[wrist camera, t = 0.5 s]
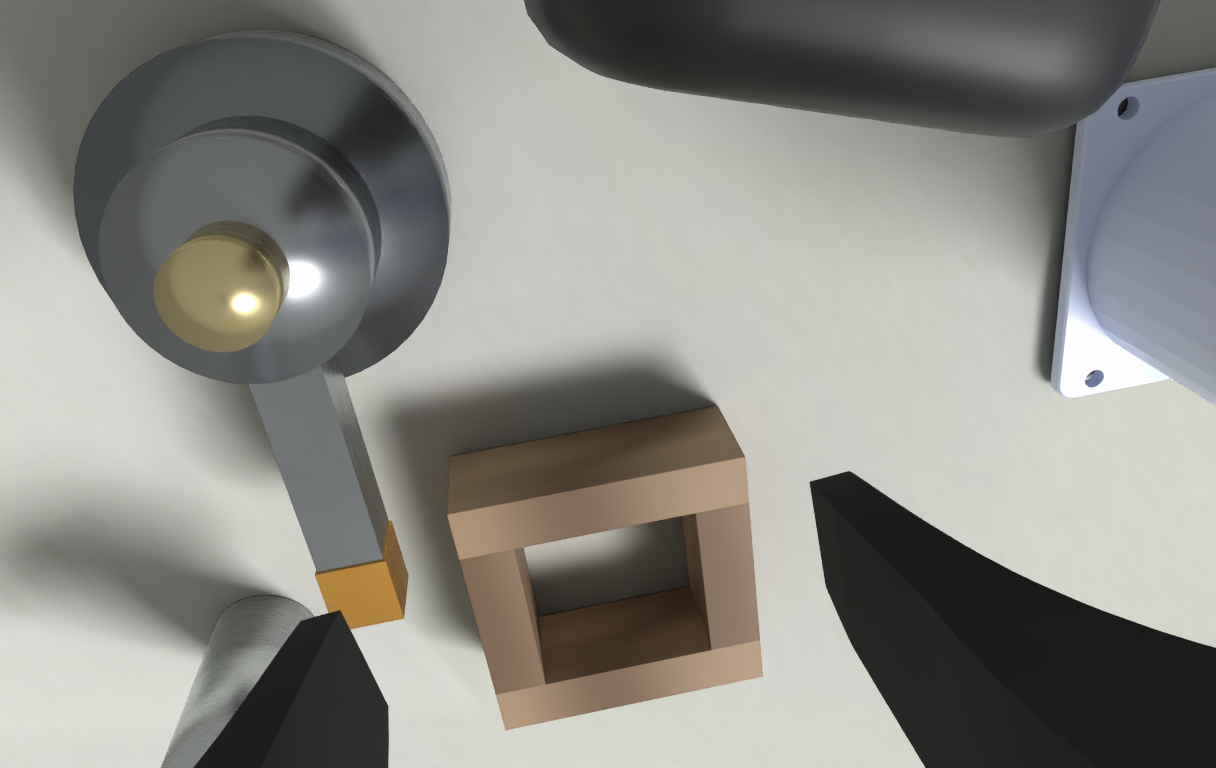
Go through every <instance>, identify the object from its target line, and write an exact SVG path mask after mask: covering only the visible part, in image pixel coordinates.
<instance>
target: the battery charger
mask: <svg viewBox="0 0 1216 768" xmlns="http://www.w3.org/2000/svg"><path fill="white" fill-rule="evenodd" d="M524 2H525V6H526V10H527V14H528V16H529V17H530V18H531V20H532V21H533V23H534V24H535V25H536V27H537V28H538V30H539V31H540V32H541V34H542V35H543V37H544V38H545V40H546V41H547V42H548V44H549V45H550V46H552V47H553V48H555V49H556V50H558V51H559V52H561V53H562V54H564V55H565V56H567V57H569V58H570V59H572V60H573V61H575V62H576V63H578V64H579V65H581V66H583V67H584V68H586V69H588V70H590V71H592V72H594V73H596V74H599V75H601V76H604V77H608V78H611V79H615V80H619V81H623V82H627V83H631V84H635V85H640V86H645V87H649V88H654V89H659V90H665V91H672V92H679V93H686V94H693V95H700V96H707V97H715V98H722V99H729V100H736V101H743V102H751V103H759V104H767V105H773V106H779V107H785V108H792V109H799V110H806V111H813V112H820V113H827V114H834V115H841V116H849V117H856V118H865V119H873V120H879V121H885V122H891V123H898V124H906V125H913V126H920V127H927V128H934V129H941V130H948V131H955V132H962V133H972V134H981V135H991V136H1001V137H1018V138H1027V137H1032V136H1037V135H1041V134H1046V133H1051V132H1055V131H1060V130H1065V129H1066V128H1068V127H1070V126H1072V125H1074V124H1075V123H1077V122H1079V121H1081V120H1083V119H1084V118H1086V117H1088V116H1090V115H1092V114H1093V113H1095V112H1097V111H1098V110H1099V109H1100V108H1101V107H1102V106H1103V105H1104V104H1105V103H1106V101H1107V100H1108V99H1109V98H1110V97H1111V96H1112V95H1113V94H1114V93H1115V92H1116V91H1117V90H1118V89H1119V88H1120V87H1121V85H1122V84H1123V83H1124V81H1125V79H1126V77H1127V76H1128V74H1129V72H1130V70H1131V68H1132V66H1133V64H1134V62H1135V60H1136V58H1137V56H1138V54H1139V52H1140V50H1141V48H1142V46H1143V44H1144V42H1145V40H1146V37H1147V34H1148V32H1149V29H1150V26H1151V24H1152V21H1153V19H1154V16H1155V13H1156V11H1157V8H1158V5H1159V3H1160V0H524Z"/></svg>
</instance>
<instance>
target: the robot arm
mask: <svg viewBox="0 0 1216 768" xmlns="http://www.w3.org/2000/svg"><path fill="white" fill-rule="evenodd" d="M1125 98H1128V106H1127V109H1126V111H1125V112H1124V113H1123V114H1122V115H1120V116H1118V111H1117V110H1118V107H1119V105H1120V103H1121V102H1122V101H1123V100H1124V99H1125ZM1094 370H1095V371H1094ZM1091 371H1094V374H1093V376H1092V377H1091V378H1090V379H1088V380H1086V381H1085V379H1086V376H1087V375H1088V374H1089V373H1090V372H1091ZM1168 379H1173V380H1174V381H1176V382H1178V383H1179V384H1181V385H1182V386H1184V387H1186V388H1187V389H1189V390H1191V391H1192V392H1194V393H1195V394H1197V395H1199V396H1200V397H1202V398H1204V399H1205V400H1207V401H1208V402H1210V403H1212V404H1213V405H1215V406H1216V67H1215V68H1209V69H1204V70H1198V71H1192V72H1186V73H1181V74H1175V75H1169V76H1163V77H1158V78H1152V79H1146V80H1140V81H1135V82H1129V83H1123V84H1122V85H1121V87H1120V88H1119V89H1118V90H1117V91H1116V92H1115V93H1114V94H1113V95H1112V96H1111V97H1110V98H1109V99H1108V100H1107V101H1106V103H1105V104H1104V105H1103V106H1102V107H1101V108H1100V109H1099V110H1098V111H1097V112H1095V113H1093V114H1092V115H1090V116H1088V117H1086V118H1084V119H1083V120H1081V121H1079V122H1077V125H1076V135H1075V145H1074V155H1073V165H1072V175H1071V185H1070V195H1069V205H1068V215H1067V224H1066V234H1065V244H1064V254H1063V264H1062V274H1061V284H1060V294H1059V304H1058V314H1057V323H1056V333H1055V343H1054V353H1053V363H1052V373H1051V386H1052V387H1053V389H1054V390H1055V391H1056V392H1057V393H1059V394H1060V395H1061V396H1063V397H1066V398H1076V397H1081V396H1086V395H1091V394H1096V393H1101V392H1106V391H1112V390H1117V389H1122V388H1127V387H1132V386H1137V385H1142V384H1148V383H1153V382H1158V381H1163V380H1168ZM810 488H811V494H812V501H813V507H814V513H815V520H816V526H817V533H818V539H819V546H820V552H821V558H822V565H823V571H824V578H825V584H826V588H827V590H828V593H829V595H830V597H831V599H832V602H833V604H834V606H835V609H836V611H837V613H838V615H839V618H840V620H841V622H842V624H843V627H844V629H845V631H846V633H847V635H848V638H849V640H850V642H851V644H852V646H853V648H854V649H855V651H856V653H857V654H858V656H859V658H860V660H861V661H862V663H863V665H864V666H865V668H866V670H867V671H868V673H869V675H870V676H871V678H872V680H873V681H874V683H875V685H876V686H877V688H878V690H879V691H880V693H881V695H882V696H883V698H884V700H885V701H886V703H887V705H888V706H889V708H890V710H891V711H892V713H893V715H894V716H895V718H896V720H897V721H898V723H899V725H900V726H901V728H902V730H903V731H904V733H905V734H906V736H907V738H908V739H909V741H910V743H911V744H912V746H913V748H914V749H915V751H916V753H917V754H918V756H919V758H920V759H921V761H922V763H923V764H924V766H925V768H1216V648H1214V647H1211V646H1207V645H1204V644H1200V643H1196V642H1193V641H1190V640H1187V639H1184V638H1180V637H1177V636H1174V635H1171V634H1167V633H1164V632H1161V631H1158V630H1155V629H1152V628H1149V627H1147V626H1144V625H1141V624H1138V623H1135V622H1133V621H1130V620H1127V619H1124V618H1121V617H1118V616H1116V615H1113V614H1110V613H1107V612H1105V611H1102V610H1100V609H1097V608H1094V607H1092V606H1089V605H1087V604H1084V603H1082V602H1079V601H1077V600H1075V599H1072V598H1070V597H1068V596H1066V595H1063V594H1061V593H1059V592H1056V591H1054V590H1052V589H1050V588H1047V587H1045V586H1043V585H1040V584H1038V583H1036V582H1034V581H1032V580H1030V579H1028V578H1025V577H1023V576H1021V575H1019V574H1017V573H1015V572H1013V571H1011V570H1009V569H1007V568H1005V567H1004V566H1002V565H1000V564H998V563H996V562H994V561H992V560H990V559H988V558H986V557H985V556H983V555H981V554H979V553H977V552H976V551H974V550H972V549H970V548H969V547H967V546H965V545H963V544H962V543H960V542H958V541H957V540H955V539H953V538H952V537H950V536H949V535H947V534H945V533H944V532H942V531H940V530H939V529H937V528H935V527H934V526H932V525H930V524H929V523H927V522H926V521H924V520H922V519H921V518H919V517H918V516H916V515H915V514H913V513H912V512H910V511H909V510H907V509H906V508H904V507H903V506H901V505H899V504H898V503H896V502H895V501H893V500H892V499H891V498H889V497H888V496H886V495H885V494H883V493H882V492H880V491H879V490H877V489H876V488H874V487H873V486H871V485H870V484H868V483H867V482H866V481H864V480H863V479H861V478H860V477H858V476H857V475H855V474H853V473H852V472H850V471H848V472H844V473H840V474H837V475H833V476H829V477H826V478H822V479H818V480H815V481H811V482H810ZM388 749H389V730H388V705H387V703H386V701H385V699H384V697H383V695H382V693H381V691H380V689H379V687H378V685H377V683H376V681H375V679H374V677H373V675H372V673H371V671H370V669H369V667H368V664H367V662H366V660H365V658H364V656H363V654H362V652H361V650H360V648H359V646H358V644H357V642H356V640H355V638H354V636H353V634H352V632H351V630H350V628H349V626H348V624H347V622H346V620H345V618H344V616H343V614H342V612H341V610H338V611H335V612H331V613H327V614H324V615H320V616H316V617H313V618H309V619H305V620H302V621H300V622H299V624H298V625H297V626H296V628H295V629H294V630H293V632H292V633H291V634H290V636H289V637H288V638H287V640H286V641H285V643H284V644H283V645H282V647H281V648H280V650H279V651H278V653H277V654H276V655H275V657H274V658H273V660H272V661H271V663H270V664H269V665H268V667H267V668H266V670H265V671H264V673H263V674H262V675H261V677H260V678H259V680H258V681H257V683H256V684H255V686H254V687H253V688H252V690H251V691H250V693H249V694H248V695H247V697H246V698H245V699H244V701H243V702H242V704H241V705H240V706H239V708H238V709H237V711H236V712H235V713H234V715H233V716H232V718H231V719H230V720H229V722H228V723H227V725H226V726H225V727H224V729H223V730H222V731H221V733H220V734H219V736H218V737H217V738H216V739H215V741H214V742H213V743H212V744H211V746H210V747H209V748H208V750H207V751H206V752H205V753H204V755H203V756H202V757H201V759H200V760H199V761H198V762H197V764H196V765H195V766H194V768H388Z"/></svg>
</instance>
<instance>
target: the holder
mask: <svg viewBox="0 0 1216 768" xmlns="http://www.w3.org/2000/svg"><path fill="white" fill-rule="evenodd" d="M679 516H681V518H682V526H683V534H684V542H685V550H686V558H687V566H688V574H689V582H690V587H685V588H680V589H675V590H670V591H665V592H660V593H655V594H650V595H645V596H640V597H635V598H630V599H625V600H620V601H615V602H610V603H606V604H601V605H596V606H591V607H586V608H581V609H576V610H571V611H566V612H561V613H556V614H551V615H546V616H541V617H539V614H538V610H537V605H536V601H535V597H534V592H533V588H532V583H531V579H530V575H529V570H528V566H527V562H526V557H525V553H524V548H523V547H527V546H532V545H537V544H542V543H547V542H552V541H557V540H562V539H567V538H572V537H578V536H583V535H588V534H593V533H598V532H603V531H608V530H613V529H618V528H623V527H628V526H633V525H638V524H643V523H648V522H653V521H659V520H664V519H669V518H674V517H679ZM447 517H448V521H449V524H450V528H451V532H452V535H453V539H454V543H455V546H456V550H457V554H458V557H459V561H460V565H461V568H462V572H463V576H464V579H465V583H466V587H467V590H468V594H469V598H470V601H471V605H472V609H473V612H474V616H475V620H476V623H477V627H478V631H479V634H480V638H481V642H482V645H483V649H484V653H485V656H486V660H487V664H488V667H489V671H490V675H491V678H492V682H493V686H494V689H495V693H496V697H497V700H498V704H499V708H500V712H501V715H502V719H503V723H504V726H505V730H509V729H514V728H519V727H524V726H528V725H533V724H538V723H543V722H547V721H552V720H557V719H562V718H567V717H571V716H576V715H581V714H586V713H590V712H595V711H600V710H605V709H610V708H614V707H619V706H624V705H629V704H633V703H638V702H643V701H648V700H653V699H657V698H662V697H667V696H672V695H676V694H681V693H686V692H691V691H696V690H700V689H705V688H710V687H715V686H719V685H724V684H729V683H734V682H739V681H743V680H748V679H753V678H758V677H762V676H763V672H762V660H761V647H760V635H759V622H758V610H757V598H756V585H755V573H754V560H753V548H752V536H751V523H750V511H749V499H748V486H747V474H746V461H745V456H744V454H743V452H742V450H741V448H740V446H739V444H738V443H737V441H736V439H735V437H734V435H733V433H732V431H731V429H730V428H729V426H728V424H727V422H726V420H725V418H724V416H723V415H722V413H721V411H720V409H719V407H718V406H713V407H708V408H703V409H698V410H692V411H687V412H682V413H677V414H671V415H666V416H661V417H656V418H650V419H645V420H640V421H635V422H629V423H624V424H619V425H614V426H608V427H603V428H598V429H593V430H587V431H582V432H577V433H572V434H566V435H561V436H556V437H551V438H545V439H540V440H535V441H530V442H524V443H519V444H514V445H509V446H503V447H498V448H493V449H488V450H483V451H477V452H472V453H467V454H462V455H456V456H451V457H450V463H449V484H448V504H447Z"/></svg>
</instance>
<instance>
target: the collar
mask: <svg viewBox="0 0 1216 768" xmlns="http://www.w3.org/2000/svg"><path fill="white" fill-rule="evenodd" d="M218 221H236V222H242V223H246V224H249V225H251V226H254V227H256V228H258V229H260V230H262V231H263V232H265V233H266V234H268V235H269V236H270V237H271V238H272V239H273V240H274V241H275V242H276V243H277V244H278V245H279V247H280V248H281V249H282V251H283V252H284V254H285V256H286V258H287V261H288V263H289V267H290V274H291V283H290V289H289V292H288V295H287V297H286V298H285V300H284V302H283V304H282V306H281V308H280V310H279V311H278V313H277V315H276V317H275V319H274V321H273V322H272V324H271V326H270V328H269V330H268V331H267V332H266V334H265V335H264V336H263V337H262V338H261V339H260V340H258V341H257V342H256V343H254V344H253V345H251V346H249V347H247V348H244V349H241V350H237V351H232V352H214V351H208V350H203V349H201V348H198V347H195V346H193V345H191V344H189V343H187V342H185V341H184V340H182V339H181V338H179V337H178V336H177V335H175V334H174V333H173V332H172V331H171V330H170V329H169V328H168V327H167V325H166V324H165V323H164V321H163V320H162V318H161V317H160V315H159V313H158V310H157V308H156V305H155V300H154V289H153V288H154V281H155V278H156V274H157V272H158V270H159V268H160V267H161V265H162V264H163V263H164V262H165V260H166V259H167V258H168V257H169V256H170V255H171V254H172V253H173V252H174V251H175V250H176V249H177V248H178V247H179V246H180V245H181V244H182V243H183V242H184V241H185V240H186V239H187V238H188V237H189V236H190V235H191V234H192V233H194V232H195V231H196V230H197V229H199V228H201V227H203V226H205V225H207V224H210V223H213V222H218ZM381 245H382V235H381V224H380V219H379V214H378V211H377V208H376V205H375V202H374V199H373V197H372V195H371V193H370V191H369V188H368V186H367V184H366V183H365V181H364V180H363V178H362V177H361V175H360V174H359V172H358V171H357V170H356V168H355V167H354V166H353V165H352V164H351V163H350V161H349V160H348V159H347V158H346V157H345V156H344V155H343V154H342V153H341V152H339V151H338V150H337V149H336V148H335V147H334V146H332V145H331V144H330V143H328V142H327V141H326V140H324V139H323V138H321V137H319V136H318V135H316V134H314V133H312V132H311V131H309V130H307V129H305V128H302V127H300V126H298V125H295V124H293V123H290V122H286V121H283V120H279V119H275V118H269V117H263V116H244V115H243V116H233V117H225V118H221V119H217V120H213V121H210V122H207V123H205V124H202V125H200V126H197V127H195V128H194V129H192V130H190V131H188V132H187V133H185V134H183V135H182V136H180V137H179V138H177V139H175V140H174V141H172V142H171V143H169V144H167V145H166V146H164V147H163V148H161V149H160V150H158V151H156V152H155V153H153V154H152V155H150V156H148V157H147V158H145V159H144V160H143V161H141V162H140V163H139V164H138V165H136V166H135V167H134V168H133V169H131V170H130V171H129V172H128V173H127V175H126V176H125V177H124V178H123V179H122V180H121V181H120V182H119V184H118V185H117V187H116V188H115V190H114V192H113V193H112V195H111V196H110V199H109V201H108V203H107V205H106V208H105V210H104V213H103V217H102V221H101V225H100V232H99V260H100V265H101V270H102V275H103V278H104V281H105V284H106V287H107V289H108V292H109V294H110V296H111V298H112V300H113V302H114V304H115V306H116V308H117V309H118V311H119V312H120V314H121V315H122V317H123V318H124V320H125V321H126V322H127V324H128V325H129V326H130V327H131V328H132V329H133V331H134V332H135V333H136V334H137V335H138V336H139V337H140V338H141V339H142V340H143V341H144V342H145V343H147V344H148V345H149V346H150V347H151V348H152V349H154V350H155V351H156V352H158V353H159V354H161V355H162V356H163V357H165V358H166V359H168V360H170V361H172V362H173V363H175V364H177V365H178V366H180V367H183V368H185V369H187V370H189V371H191V372H194V373H196V374H199V375H202V376H205V377H208V378H211V379H216V380H220V381H225V382H231V383H241V384H248V385H249V388H250V391H251V393H252V396H253V399H254V401H255V404H256V407H257V410H258V412H259V415H260V418H261V420H262V423H263V426H264V429H265V431H266V434H267V437H268V439H269V442H270V445H271V448H272V450H273V453H274V456H275V459H276V461H277V464H278V467H279V469H280V472H281V475H282V478H283V480H284V483H285V486H286V488H287V491H288V494H289V497H290V499H291V502H292V505H293V507H294V510H295V513H296V516H297V518H298V521H299V524H300V527H301V529H302V532H303V535H304V537H305V540H306V543H307V546H308V548H309V551H310V554H311V556H312V559H313V562H314V565H315V567H316V573H315V577H316V579H317V582H318V585H319V588H320V590H321V593H322V596H323V598H324V601H325V604H326V606H327V609H328V612H329V613H331V612H335V611H338V610H341V612H342V614H343V616H344V618H345V620H346V622H347V624H348V626H349V628H350V629H354V628H359V627H364V626H369V625H374V624H379V623H384V622H389V621H394V620H399V619H404V613H405V604H406V595H407V585H408V572H407V569H406V566H405V563H404V559H403V556H402V553H401V550H400V546H399V543H398V540H397V537H396V533H395V530H394V527H393V524H392V521H389V520H388V517H387V514H386V511H385V507H384V504H383V501H382V498H381V494H380V491H379V488H378V485H377V482H376V478H375V475H374V472H373V469H372V465H371V462H370V459H369V456H368V453H367V449H366V446H365V443H364V440H363V436H362V433H361V430H360V427H359V424H358V420H357V417H356V414H355V411H354V407H353V404H352V401H351V398H350V395H349V391H348V388H347V385H346V382H345V378H344V375H343V372H342V369H341V366H340V362H339V359H338V356H337V352H338V351H339V350H340V349H341V348H343V347H344V345H345V344H346V343H347V342H348V340H349V339H350V338H351V336H352V335H353V334H354V332H355V330H356V328H357V327H358V325H359V323H360V321H361V319H362V316H363V313H364V311H365V308H366V305H367V302H368V298H369V295H370V292H371V289H372V285H373V282H374V279H375V276H376V272H377V269H378V265H379V260H380V256H381Z"/></svg>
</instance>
